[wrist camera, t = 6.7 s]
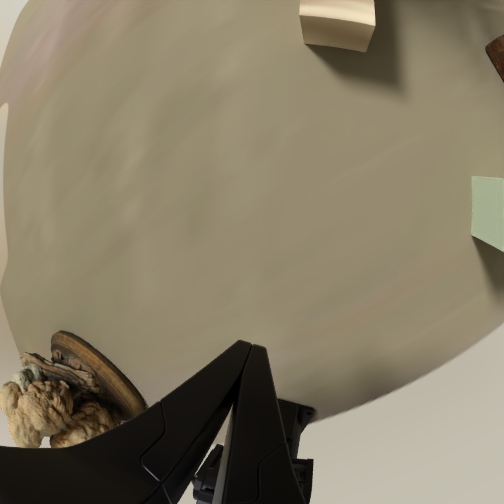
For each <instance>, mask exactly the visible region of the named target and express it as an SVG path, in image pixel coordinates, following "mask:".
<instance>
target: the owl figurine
mask: <svg viewBox="0 0 504 504" xmlns="http://www.w3.org/2000/svg"><path fill="white" fill-rule="evenodd" d="M51 352H52V358H51V360H52V362H49V361H48V360H46V359H45V358H44V357H41V356H40V355H39V354H36V353H35V354H34V353H33V354H31V353H27V352H25V353H24V354H23V357H21V358H20V361H21V364H22V366H23V367H24V369H23V370H21V371H20V372H17V373H15V374H14V376H13V379H12V381H11V382H7V383H6V384H4V385H3V386H2V389H1V392H0V406H1V409H2V410H3V412H4V413H5V414H6V415H7V416H8V417H9V419H8V424H9V430H10V434H11V436H12V438H13V440H14V441H15V443H16V444H17V446H19V447H23V448H39V447H40V445H41V441H42V439H43V437H44V436H46V437H47V436H48V437H50V446H51V448H61V447H68V446H72V445H75V444H79V443H81V442H84V441H86V440H88V439H91V438H93V437H95V436H97V435H100V434H102V433H104V432H106V431H108V430H110V429H112V428H115V427H117V426H119V425H120V423H121V420H125V421H128V420H130V419H132V418H134V417H135V416H137V415H139V414H140V413H142V412H143V411H145V404H144V401H143V398H142V397H141V395H140V393H139V392H138V390H137V389H136V388H135V386H133V384H132V383H131V382H130V381H129V379H128V378H127V377H126V376H125V375H124V374H123V373H122V372H121V371H120V370H119V369H118V368H117V367H116V366H115V365H114V364H113V363H112V362H111V361H110V360H109V359H107V358H106V357H105V356H104V355H103V354H101V353H100V352H99V351H98V350H97V349H95V348H94V347H93V346H91V345H90V344H89V343H88V342H86V341H85V340H83V339H82V338H80V337H78V336H76V335H74V334H73V333H70V332H66V331H59V332H57V333H55V334H54V335H53V336H52V339H51Z"/></svg>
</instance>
